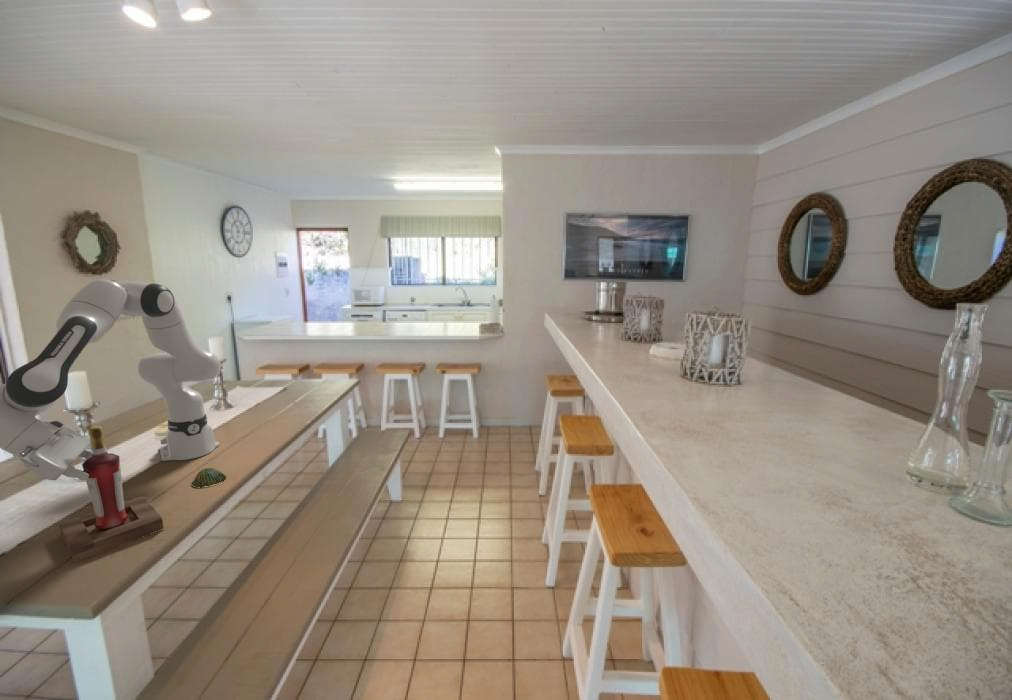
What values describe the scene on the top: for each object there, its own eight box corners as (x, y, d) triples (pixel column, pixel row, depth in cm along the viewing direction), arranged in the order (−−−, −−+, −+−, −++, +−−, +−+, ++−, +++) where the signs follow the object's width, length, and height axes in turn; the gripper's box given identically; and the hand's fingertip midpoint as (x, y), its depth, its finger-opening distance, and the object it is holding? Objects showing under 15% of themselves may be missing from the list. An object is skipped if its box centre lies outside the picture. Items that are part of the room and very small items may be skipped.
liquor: (92, 525, 121) (74, 427, 115) (127, 514, 126) (111, 420, 121) (96, 536, 116) (77, 435, 110) (132, 524, 121) (116, 427, 116)
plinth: (61, 534, 120) (59, 522, 119) (145, 506, 134) (143, 496, 133) (74, 563, 109) (71, 550, 108) (163, 529, 123) (161, 518, 122)
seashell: (194, 479, 142) (186, 469, 149) (195, 492, 143) (187, 481, 150) (230, 471, 150) (221, 462, 156) (230, 483, 150) (221, 473, 157)
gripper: (26, 446, 102) (90, 476, 108) (61, 418, 120) (114, 446, 126) (3, 468, 101) (69, 497, 107) (41, 437, 118) (95, 463, 125)
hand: (93, 469), depth 117 cm, fingers open, 8 cm apart
